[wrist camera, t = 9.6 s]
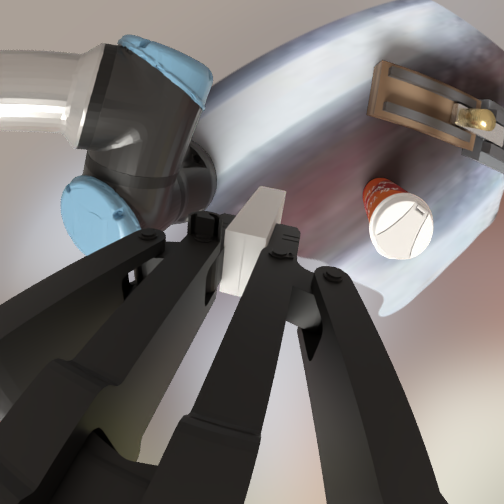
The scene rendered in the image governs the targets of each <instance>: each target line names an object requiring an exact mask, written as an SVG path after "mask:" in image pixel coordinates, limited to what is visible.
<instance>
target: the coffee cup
mask: <svg viewBox="0 0 504 504" xmlns="http://www.w3.org/2000/svg"><path fill="white" fill-rule="evenodd" d="M363 202H364V206H365V209H366V213H367V216H368V220H369V223H370V225H369V232H370V237H371V240H372V243H373V244H374V246H375V248H376V249H377V251H378V252H379V253H380V254H381V255H383V256H385V257H387V258H389V259H411V258H413V257H416V256H417V255H419V254H420V253H421V252H423V251H424V249H425V248H426V247H427V246H428V244H429V242H430V240H431V237H432V234H433V216H432V213H431V210H430V208H429V207H428V205H427V204H426V203H425V202H424V201H423V200H422V199H421V198H419V197H418V196H416V195H414V194H410V193H409V192H407V191H405V190H404V189H402V188H401V187H399V186H398V185H396V184H395V183H393V182H392V181H390V180H388V179H385V178H375V179H373V180H371V181H370V182H369V183H368V184H367V185H366V186H365V188H364V191H363Z"/></svg>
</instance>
